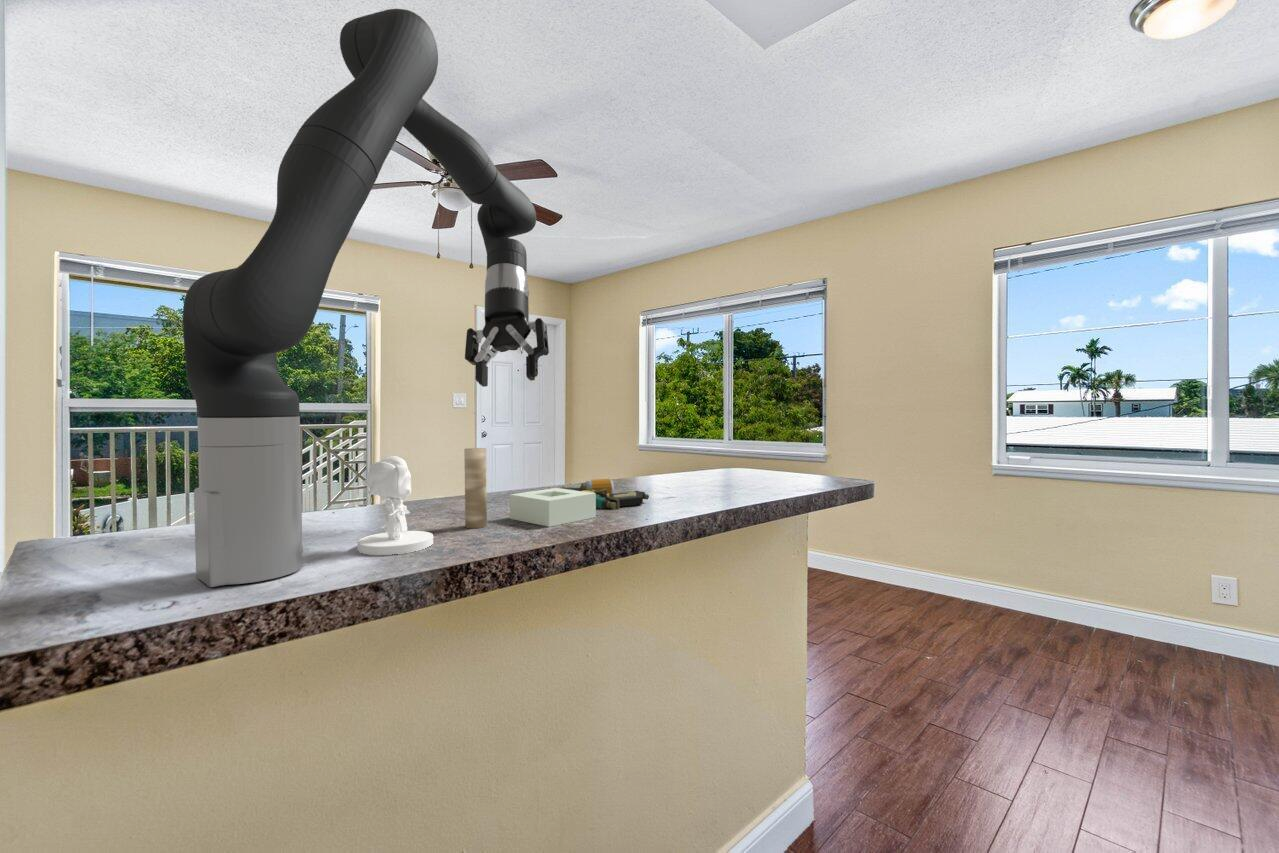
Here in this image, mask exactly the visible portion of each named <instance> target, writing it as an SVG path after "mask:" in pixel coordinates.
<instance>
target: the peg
mask: <svg viewBox="0 0 1279 853" xmlns="http://www.w3.org/2000/svg"><path fill="white" fill-rule="evenodd" d="M463 449H464V513H465V514H464V516H465V517H464V518H465V519H464V520H465V521H464V522H465V523H464V524H465V525H464V527H465V528H466V529H471V528H475V529H483V528H486V527H487V526H488V525H487V524H488V516H487V514H488V512H487V511H488V506H487V505H488V504H487V503H488V502H487V501H488V500H487V499H488V498H487V493H488V492H487V489H488V488H487V448H485V447H470V448H467V447H466V448H463ZM482 527H483V528H482Z"/></svg>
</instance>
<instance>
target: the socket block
mask: <svg viewBox="0 0 1279 853" xmlns="http://www.w3.org/2000/svg"><path fill="white" fill-rule="evenodd" d="M596 514H597V508H596V493H590V492H582V491H575V490H568V489H560V487H553V488H552V487H551V488H546V489H541V490H540V489H538V490H531V491H525V492H518V493H512V494H509V519H510V520H515V521H521V522H525V523H529V524H534V525H539V526H542V527H543V526H544V527H548V528H550V527H555V526H560V525H564V524H565V525H566V524H569V523H575V522H580V521H585V520H589V519H594V518H597V515H596Z"/></svg>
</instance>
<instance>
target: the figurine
mask: <svg viewBox="0 0 1279 853" xmlns="http://www.w3.org/2000/svg"><path fill="white" fill-rule="evenodd" d="M411 474H412V473H411V472H410V470H409V467H408V464H407V462H406V460H405V459H403V458H402V457H399V456H397V455H390V456H386V457H384V458H382V459H381V460H379V461H377V462H373V463H371V465H370V466H369V469H368V472H367V476H366V479H364V480H363V481H362V483H363V484H364V485H366V486H368V487H369V488H370V490H369V491H368V492H367V493H368V494H369V495H371V496H379V497H381V500H383V501H385V502H384V507H385V509H386V512H387V513H388V515H387V520H386V521H385V522H382V524H380V525H379V528H380V529H383V528H384V532H379V533H375V534H370V535H366V536H364V537H362V538H361V537H360V538H359V540H357V551H359V552H358V553H360V554H362V553H363V555H366V554H367V555H368V556H395V555H394V554H398V555H405V553H406V554H411V552H412V553H415V552H414V551H416V552H419V550H420V551H423V550H422V549H424V550H426V549H425V548H427V547H429V546H431V545H432V544H433V545H434V534H433V533H432V532H429V531H424V530H423V531H422V530H408V524H407V517H406V515H410V514H411V511H410V510H408V507H407V505H404V500H407V499H408V498H409V497H410V496H411V494H412V475H411ZM433 545H432V546H433ZM432 546H431V547H432ZM429 548H430V547H429ZM427 549H428V548H427ZM392 554H393V555H392Z"/></svg>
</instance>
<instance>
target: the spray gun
mask: <svg viewBox="0 0 1279 853" xmlns="http://www.w3.org/2000/svg"><path fill="white" fill-rule="evenodd" d="M559 488H560V489H568V490H575V491H582V492H590V493H596V509H599V510H605V509H613V510H620V507H627V506H636V505H637V506H638V505H642V504H644V501H643V500H649V497H650V495H649V494H647V493H646V491H641V490H634V491H626V492H616V493H615V485H614V481H613V480H612V479H611V478H599V479H588V480H586V481H585V483H583V482H582V483H581V484H580V487H565V486H561V487H559Z"/></svg>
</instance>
